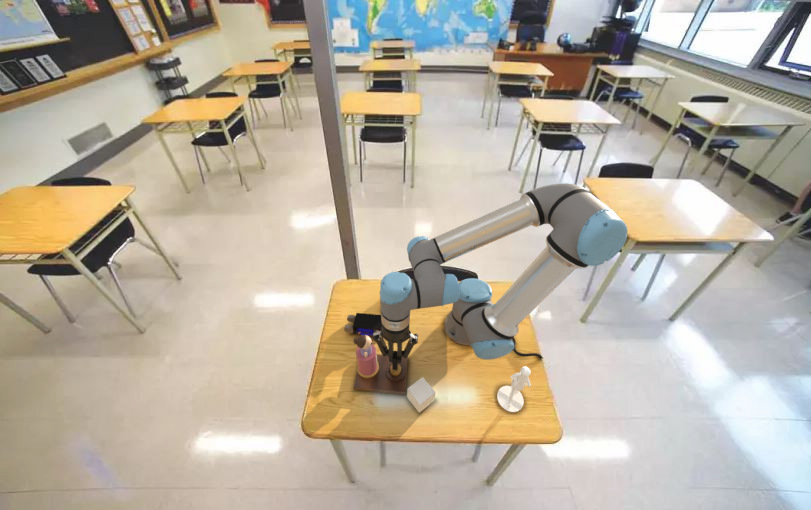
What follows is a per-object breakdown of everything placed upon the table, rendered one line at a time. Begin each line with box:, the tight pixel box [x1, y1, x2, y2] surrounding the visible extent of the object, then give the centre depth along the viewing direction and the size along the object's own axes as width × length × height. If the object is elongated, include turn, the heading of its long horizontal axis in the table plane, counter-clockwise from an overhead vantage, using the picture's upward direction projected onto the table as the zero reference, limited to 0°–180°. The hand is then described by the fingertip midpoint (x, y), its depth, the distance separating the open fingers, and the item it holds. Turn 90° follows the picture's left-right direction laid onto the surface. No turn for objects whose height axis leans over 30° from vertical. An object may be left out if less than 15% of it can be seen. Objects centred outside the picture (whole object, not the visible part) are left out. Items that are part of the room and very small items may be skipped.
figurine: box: [496, 366, 532, 413], centre depth 93 cm, size 8×8×18 cm
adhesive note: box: [406, 376, 436, 413], centre depth 97 cm, size 6×6×6 cm
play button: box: [390, 364, 401, 377], centre depth 101 cm, size 4×4×2 cm
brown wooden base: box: [353, 354, 409, 396], centre depth 103 cm, size 16×12×4 cm
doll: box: [353, 334, 379, 378], centre depth 96 cm, size 7×7×17 cm
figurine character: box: [343, 312, 382, 336], centre depth 114 cm, size 7×8×15 cm
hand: (395, 365), depth 100 cm, fingers closed
